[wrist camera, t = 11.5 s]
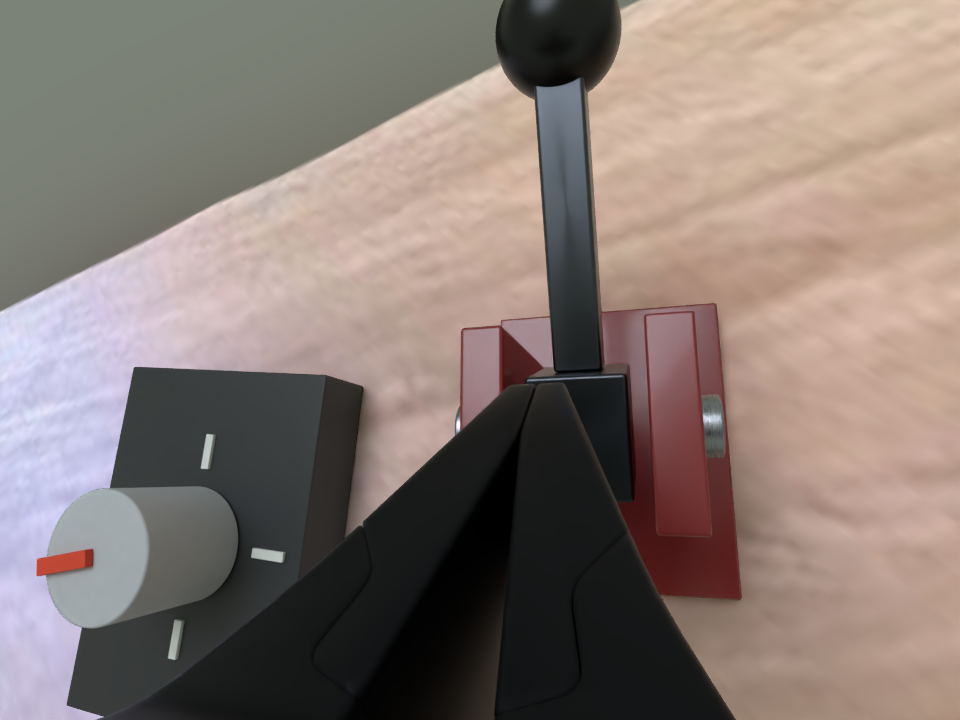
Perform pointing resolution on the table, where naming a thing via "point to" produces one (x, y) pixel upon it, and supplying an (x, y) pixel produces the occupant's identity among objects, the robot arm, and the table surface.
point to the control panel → (249, 492)
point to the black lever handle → (573, 208)
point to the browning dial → (138, 552)
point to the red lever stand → (645, 432)
